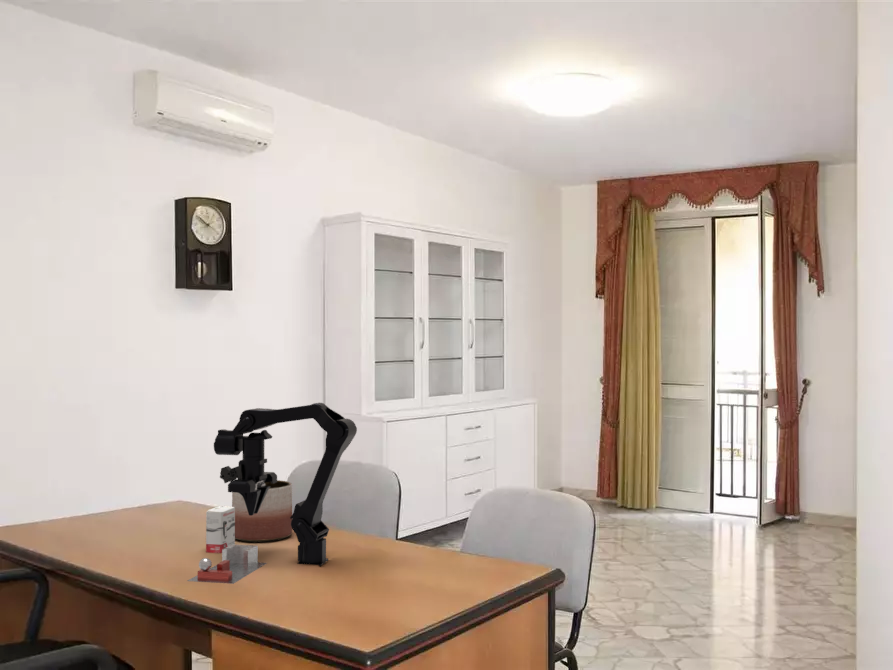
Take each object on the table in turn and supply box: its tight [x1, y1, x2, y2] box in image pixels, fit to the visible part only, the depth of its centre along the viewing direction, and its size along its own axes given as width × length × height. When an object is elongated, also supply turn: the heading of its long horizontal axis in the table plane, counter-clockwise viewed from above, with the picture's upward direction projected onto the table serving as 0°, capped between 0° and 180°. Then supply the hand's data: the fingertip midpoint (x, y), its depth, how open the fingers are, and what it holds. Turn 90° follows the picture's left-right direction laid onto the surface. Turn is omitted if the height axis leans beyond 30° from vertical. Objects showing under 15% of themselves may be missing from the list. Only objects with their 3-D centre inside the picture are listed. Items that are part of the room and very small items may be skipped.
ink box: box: [205, 505, 236, 554], centre depth 237 cm, size 9×5×12 cm, turn 168°
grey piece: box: [186, 557, 268, 585], centre depth 212 cm, size 12×20×6 cm, turn 169°
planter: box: [231, 479, 293, 543], centre depth 254 cm, size 18×18×16 cm
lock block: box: [221, 543, 259, 569], centre depth 219 cm, size 7×6×4 cm
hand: (253, 514), depth 227 cm, fingers open, 2 cm apart
